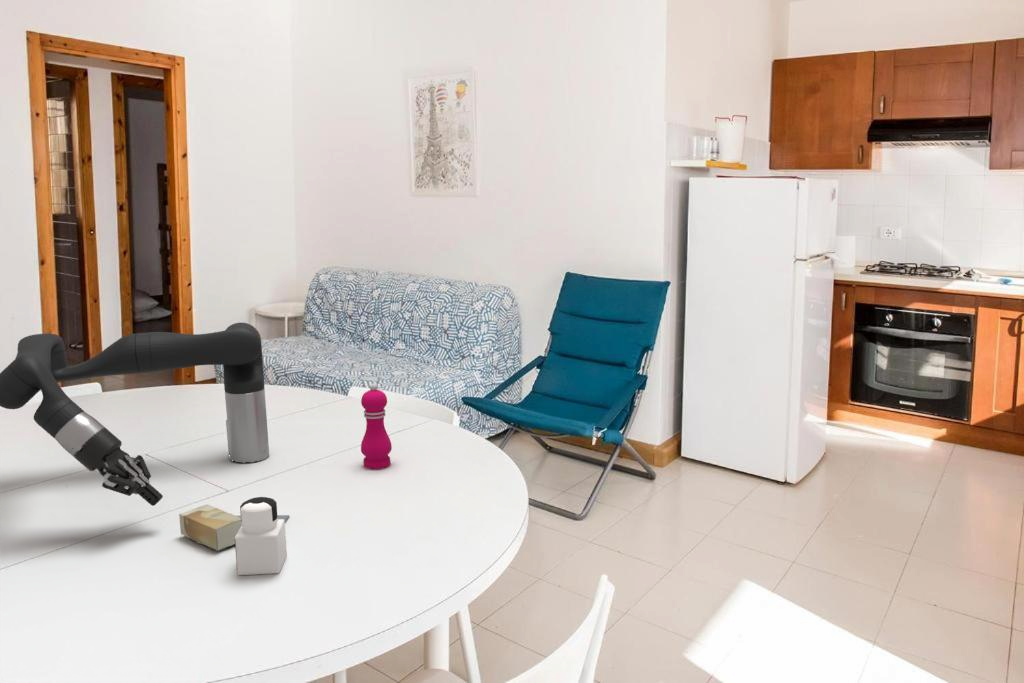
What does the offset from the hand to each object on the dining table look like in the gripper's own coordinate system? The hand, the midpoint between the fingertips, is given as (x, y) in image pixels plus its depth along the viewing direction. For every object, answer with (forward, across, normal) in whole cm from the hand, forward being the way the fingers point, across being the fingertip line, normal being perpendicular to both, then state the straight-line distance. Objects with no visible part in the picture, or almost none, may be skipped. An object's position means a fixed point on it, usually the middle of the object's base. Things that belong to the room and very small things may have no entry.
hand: (158, 501), depth 157 cm
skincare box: (+7, +1, +2) cm, 7 cm away
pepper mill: (+30, -37, +21) cm, 52 cm away
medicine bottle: (+22, +15, +13) cm, 30 cm away
